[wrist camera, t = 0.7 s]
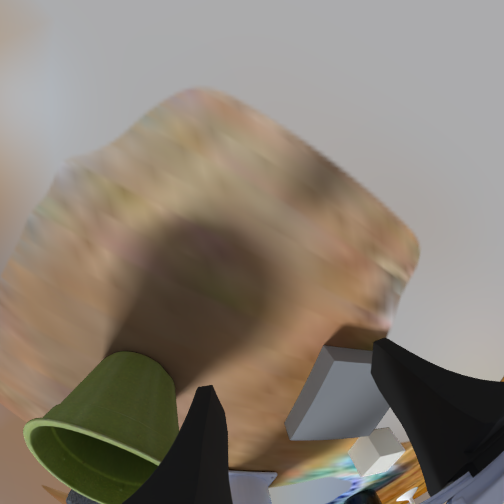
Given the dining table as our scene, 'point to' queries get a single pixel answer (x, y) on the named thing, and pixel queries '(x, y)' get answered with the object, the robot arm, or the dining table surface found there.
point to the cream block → (376, 452)
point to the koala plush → (78, 498)
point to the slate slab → (337, 398)
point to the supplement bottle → (364, 498)
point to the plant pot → (109, 429)
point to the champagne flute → (408, 496)
